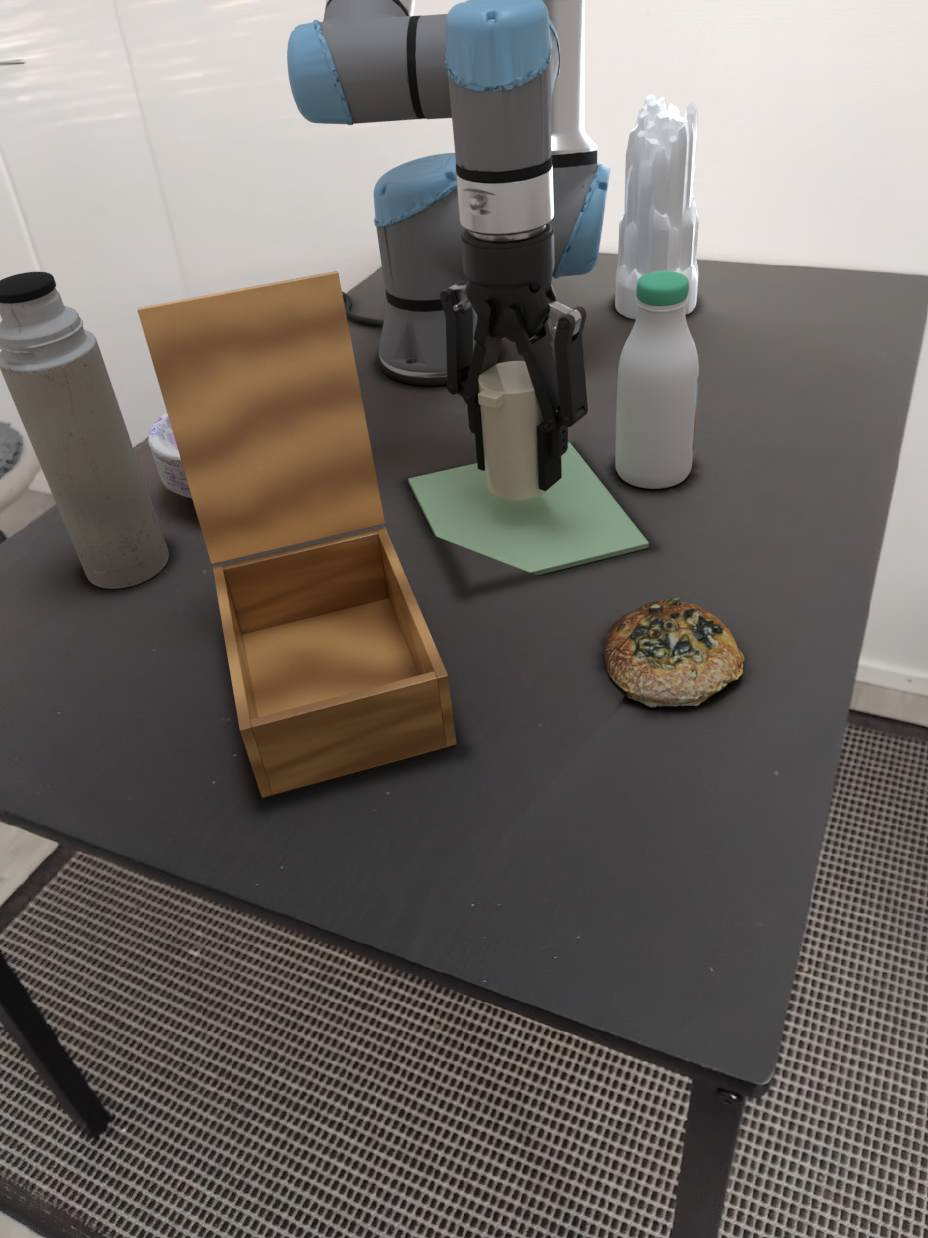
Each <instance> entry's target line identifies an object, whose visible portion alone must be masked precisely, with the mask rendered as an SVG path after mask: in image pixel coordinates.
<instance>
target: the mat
mask: <svg viewBox="0 0 928 1238" xmlns="http://www.w3.org/2000/svg"><path fill="white" fill-rule="evenodd" d="M561 466H562V478H561V479H560V480H559V481H557V482H556V483H555V484H554V485H553V486H551V487H550V489H549V490H548V491H547V492H545V493H544V494H542V495H540V496H538V497H535V498H532V499H527V500H507V499H502V498H499V497H497V496H495V495H493V494H492V493H491V492H490V491H489V490H488V489H487V487H486V477H485V471H482V470H479V469H478V467H477V462H476V463H470V464H466V465H461V466H458V467H454V468H449V469H445V470H440V471H435V472H431V473H427V474H423V475H418V476H413V477H409V478H408V479H407V482H408V485H409V488H411V491H412V494H413V495H414V497H415V499H416V501H417V503H418V505H419V507H420V509H421V511H422V513H423V516H424V518H425V520H426V522H427V524H428V526H429V529H430V531H431V532H432V534H433V536H434V537H437V538H440V539H442V540H445V541H447V542H450V543H452V544H455V545H457V546H460V547H462V548H465V549H467V550H471V551H473V552H476V553H478V554H481V555H484V556H485V557H488V558H491V559H494V560H495V561H498V562H501V563H504V564H506V565H509V566H512V567H514V568H517V569H520V570H522V571H525V572H526V573H527V572H528V573H530V574H533V575H535V576H541V575H546V574H548V573H554V572H557V571H561V570H565V569H569V568H573V567H577V566H582V565H585V564H590V563H593V562H597V561H601V560H605V559H610V558H613V557H617V556H623V555H626V554H629V553H634V552H637V551H642V550H646V549H649V548H650V542H649V541H648V540H647V538H646V537H645V536H644V534H642V532H641V531H640V529H639V528H638V527H637V526H636V524H635V523H634V521H632V519H631V518H630V517H629V515H628V514H627V513H626V512H625V511H624V509H623V508H622V507H621V505H620V504H619V503H618V502H617V501H616V499H615V498H614V496H613V495H612V493H610V491H609V490H608V489H607V488H606V486H605V485H604V484H603V483H602V481H601V480H600V479H599V478H598V476H597V475H596V474H595V473H594V471H593V470H592V469H591V467H590V466H589V465H588V463H587V462H586V461H585V460H584V459H583V457H582V456H581V455H580V453H579V452H578V451H577V450H576V448H575V447H574V446H573V445H572V443H571V442H570V441H568V449H567V451H566V453H564V454H563V455H562V456H561Z"/></svg>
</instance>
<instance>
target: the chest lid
mask: <svg viewBox="0 0 928 1238" xmlns="http://www.w3.org/2000/svg"><path fill="white" fill-rule="evenodd" d="M342 291H343V289H342V284H341V279H340V273H339V271H337V270H334V271H329V272H323V273H318V274H312V275H307V276H303V277H302V276H301V277H296V278H291V279H290V278H289V279H286V280H280V281H275V282H269V283H263V284H259V285H253V286H248V287H242V288H238V289H231V290H227V291H226V290H225V291H221V292H216V293H210V294H205V295H199V296H195V297H189V298H184V299H178V300H173V301H167V302H163V303H156V304H151V305H146V306H141V307H137V314H138V317H139V322H140V324H141V328H142V331H143V335H144V338H145V341H146V342H145V343H146V344H147V348H148V353H149V356H150V359H151V362H152V366H153V368H154V372H155V376H156V379H157V382H158V386H159V389H160V393H161V397H162V400H163V404H164V407H165V410H166V412H167V414H168V417H169V421H170V424H171V427H172V431H173V434H174V438H175V441H176V445H177V448H178V451H179V455H180V458H181V462H182V465H183V469H184V472H185V475H186V479H187V482H188V486H189V489H190V493H191V496H192V498H191V499H192V501H193V502H192V503H193V506H194V509H195V510H194V511H195V513H196V516H197V520H198V523H199V526H200V530H201V533H202V537H203V540H204V544H205V547H206V550H207V554H208V557H209V561H210V564H211V565H213V564H217V563H223V562H227V561H230V560H234V559H239V558H243V557H247V556H252V555H256V554H261V553H265V552H268V551H269V552H270V551H273V550H277V549H282V548H285V547H290V546H293V545H294V546H295V545H298V544H304V543H307V542H308V543H309V542H311V541H316V540H321V539H325V538H329V537H333V536H336V535H341V534H342V535H343V534H346V533H351V532H354V531H359V530H363V529H367V528H371V527H376V526H380V525H381V526H382V525H384V524H386V520H385V515H384V510H383V505H382V499H381V494H380V489H379V484H378V478H377V477H378V476H377V472H376V467H375V462H374V461H375V460H374V456H373V450H372V446H371V441H370V435H369V429H368V425H367V419H366V414H365V407H364V402H363V398H362V392H361V391H362V390H361V386H360V380H359V377H358V370H357V365H356V364H357V363H356V359H355V353H354V349H353V342H352V338H351V333H350V327H349V322H348V317H347V316H346V311H345V299H343V294H342Z"/></svg>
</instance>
